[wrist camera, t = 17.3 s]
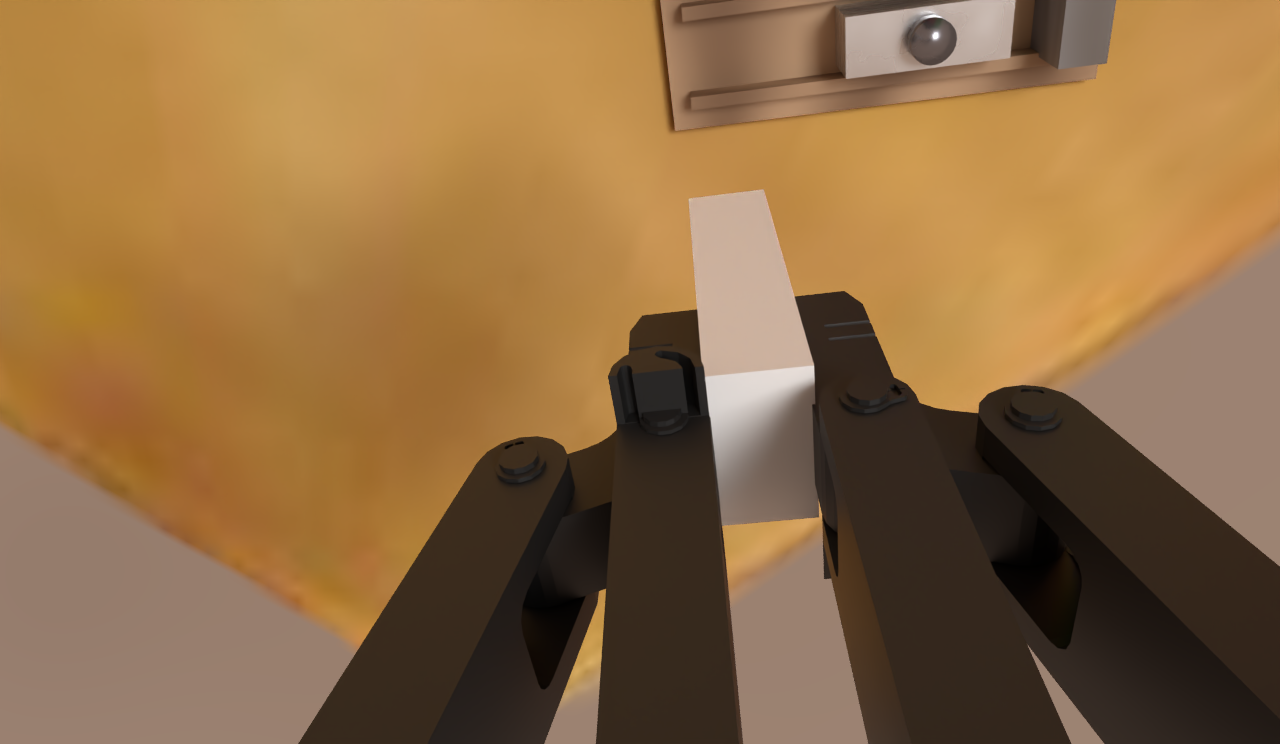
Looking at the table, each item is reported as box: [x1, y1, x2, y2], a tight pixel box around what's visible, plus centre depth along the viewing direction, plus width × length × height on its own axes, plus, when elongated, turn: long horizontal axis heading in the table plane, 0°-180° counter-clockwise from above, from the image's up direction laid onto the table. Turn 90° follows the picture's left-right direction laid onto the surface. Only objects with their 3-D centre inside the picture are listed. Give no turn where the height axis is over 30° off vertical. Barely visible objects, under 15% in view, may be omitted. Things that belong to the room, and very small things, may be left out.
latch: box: [835, 0, 1015, 79], centre depth 32 cm, size 6×2×3 cm, turn 98°
